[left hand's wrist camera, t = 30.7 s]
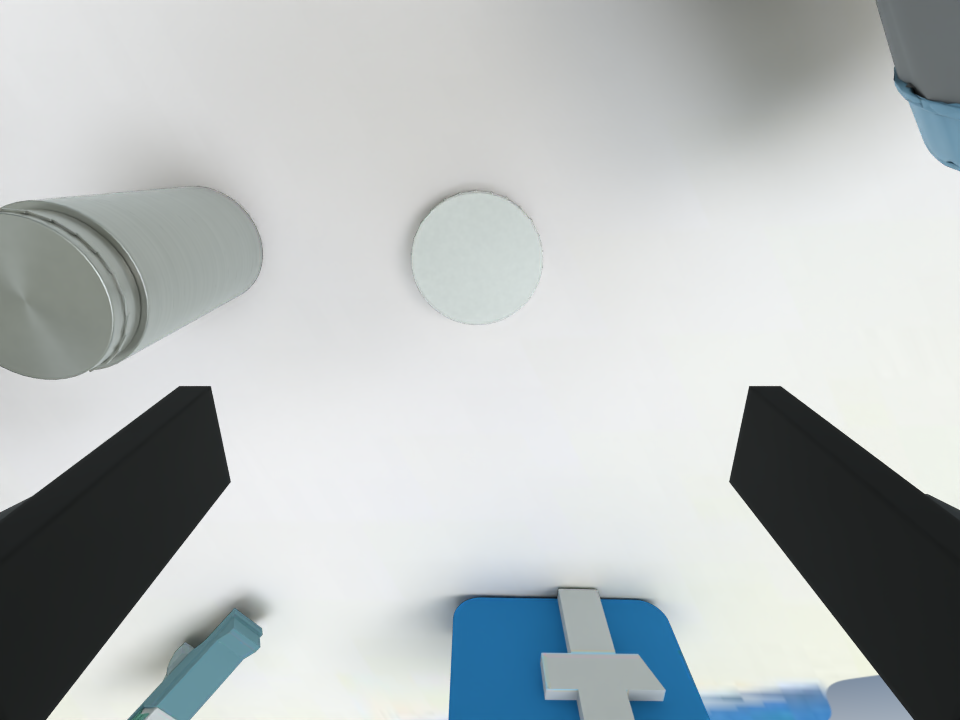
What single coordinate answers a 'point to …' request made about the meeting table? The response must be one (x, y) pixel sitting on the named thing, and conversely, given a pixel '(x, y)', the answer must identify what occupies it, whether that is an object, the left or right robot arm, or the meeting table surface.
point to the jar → (115, 274)
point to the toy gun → (201, 670)
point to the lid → (477, 258)
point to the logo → (568, 661)
